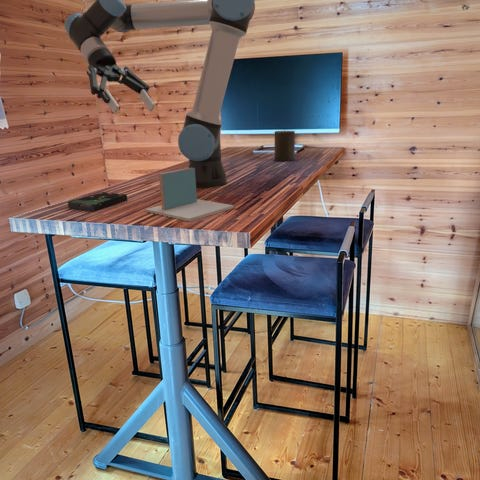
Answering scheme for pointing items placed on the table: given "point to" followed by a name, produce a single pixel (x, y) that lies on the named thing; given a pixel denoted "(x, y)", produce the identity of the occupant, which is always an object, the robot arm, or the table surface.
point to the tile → (177, 188)
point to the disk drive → (97, 201)
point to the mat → (192, 210)
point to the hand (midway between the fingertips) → (135, 109)
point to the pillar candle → (284, 145)
